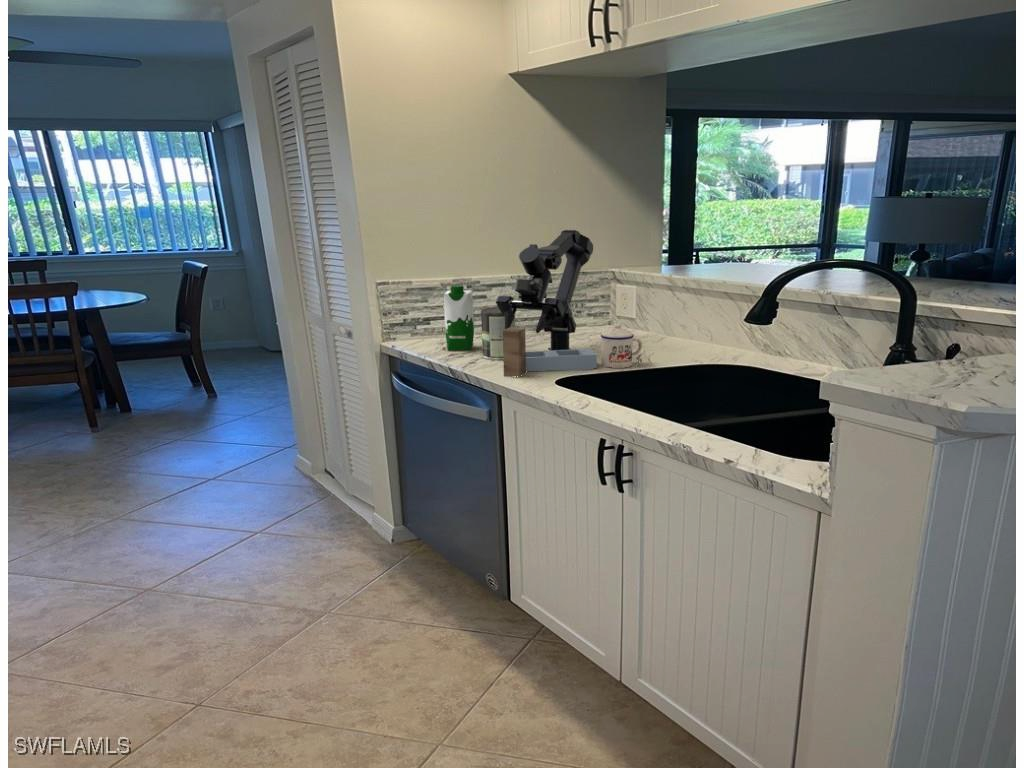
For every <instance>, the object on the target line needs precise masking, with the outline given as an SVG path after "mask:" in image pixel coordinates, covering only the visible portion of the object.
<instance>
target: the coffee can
mask: <svg viewBox="0 0 1024 768" xmlns="http://www.w3.org/2000/svg"><path fill="white" fill-rule="evenodd" d="M480 314H481V315H480V316H481V318H480V319H481V342H482V343H481V345H482V346H481V347H482V348H481V349H482V358H483V359H485V358H486V360H489V359H492V361H500V360H499V359H503V330H505V316H504V314H502V313H501V311H500V309H499V308H498V306H497V307H496V306H495V307H486V308H482V309H481V310H480ZM514 315H515V317H514V320H513V322H512V324H511V326H510V328H516V313H515V314H514Z"/></svg>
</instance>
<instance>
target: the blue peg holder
mask: <svg viewBox="0 0 1024 768" xmlns="http://www.w3.org/2000/svg"><path fill="white" fill-rule="evenodd" d="M597 360H598V359H597V354H596V352H595V351H594V350H592V349H591V348H578V349H577V348H576V349H571V350H551V351H549V350H531V351H526V371H539V372H546V371H545V370H560V371H577V369H578V370H579V369H581V370H593V369H592V368H597V365H598V364H597V363H598V361H597Z"/></svg>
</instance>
